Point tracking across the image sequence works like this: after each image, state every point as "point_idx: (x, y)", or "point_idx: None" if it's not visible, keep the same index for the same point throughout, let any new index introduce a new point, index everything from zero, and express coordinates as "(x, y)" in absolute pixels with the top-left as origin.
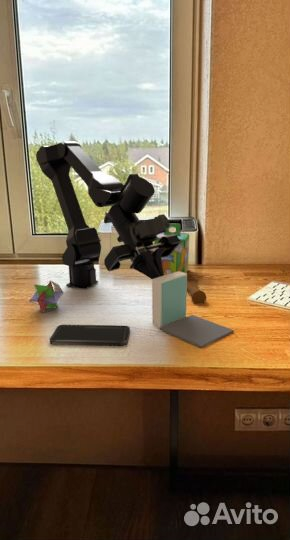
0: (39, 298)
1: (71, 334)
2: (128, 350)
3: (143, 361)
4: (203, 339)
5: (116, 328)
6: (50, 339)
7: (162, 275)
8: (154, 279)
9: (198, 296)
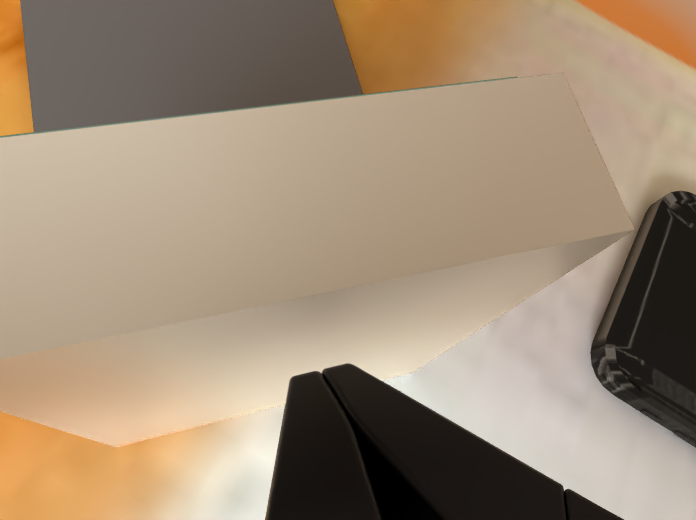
0: None
1: None
2: (654, 151)
3: (617, 42)
4: (267, 12)
5: (684, 387)
6: None
7: (322, 429)
8: (605, 196)
9: None
